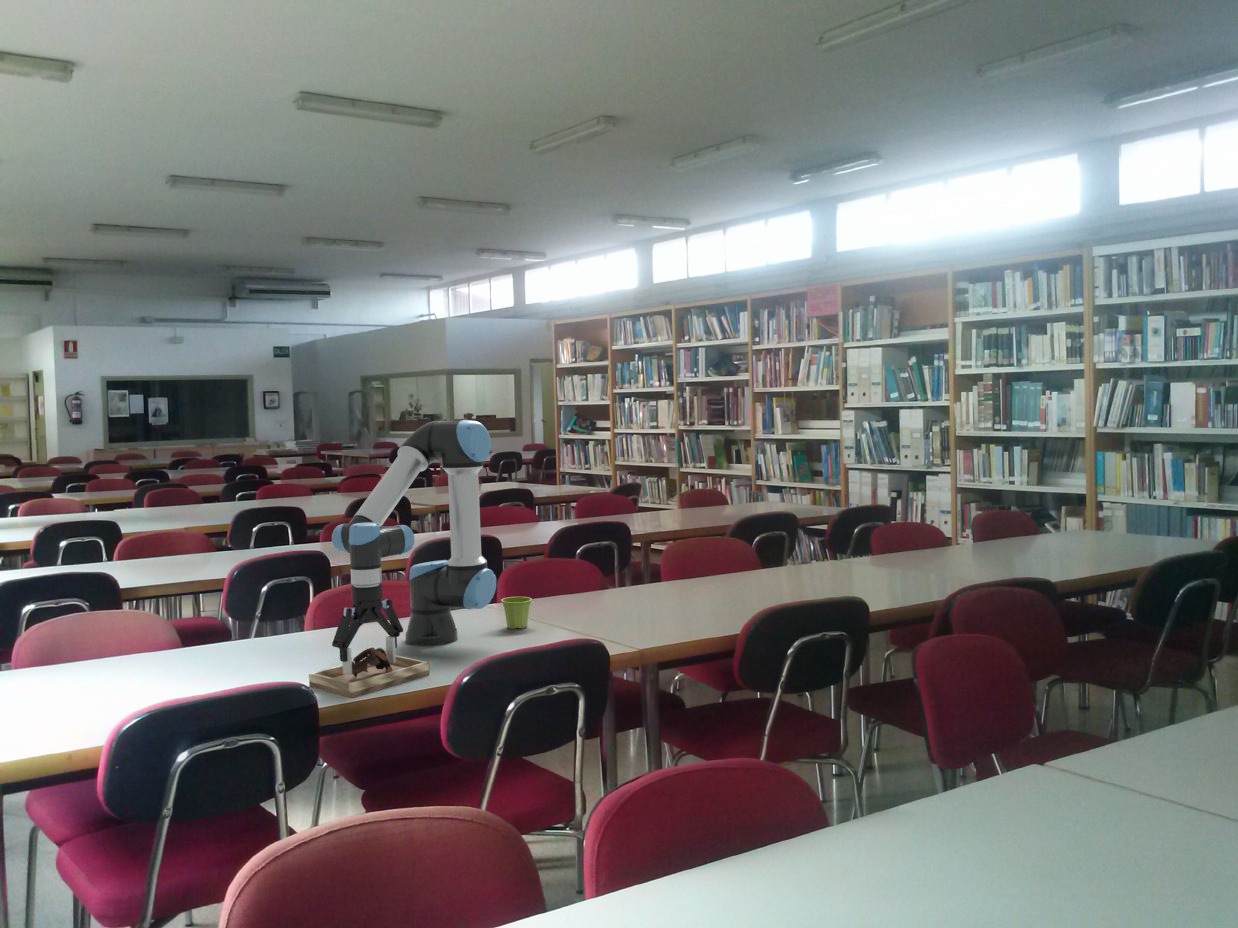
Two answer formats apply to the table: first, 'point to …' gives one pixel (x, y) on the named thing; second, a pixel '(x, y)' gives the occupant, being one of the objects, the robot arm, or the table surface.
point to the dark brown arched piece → (370, 661)
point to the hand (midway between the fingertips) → (369, 667)
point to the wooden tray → (368, 677)
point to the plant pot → (516, 611)
